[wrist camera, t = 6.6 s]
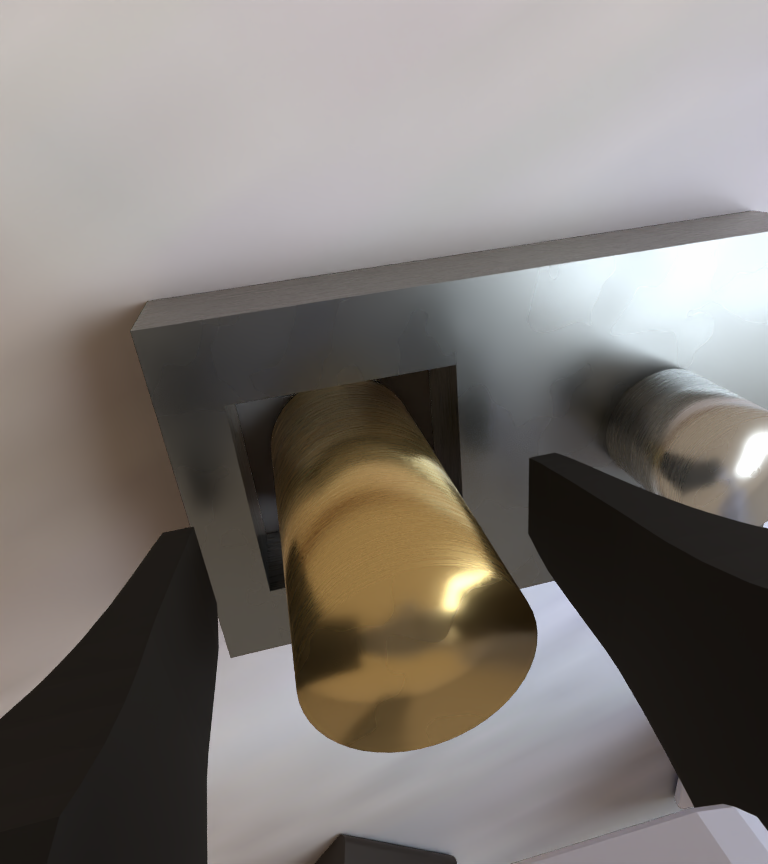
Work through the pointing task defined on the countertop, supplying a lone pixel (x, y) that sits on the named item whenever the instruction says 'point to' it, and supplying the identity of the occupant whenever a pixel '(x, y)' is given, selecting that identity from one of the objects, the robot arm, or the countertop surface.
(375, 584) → the cylinder
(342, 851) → the phone stand
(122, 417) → the countertop surface
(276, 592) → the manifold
